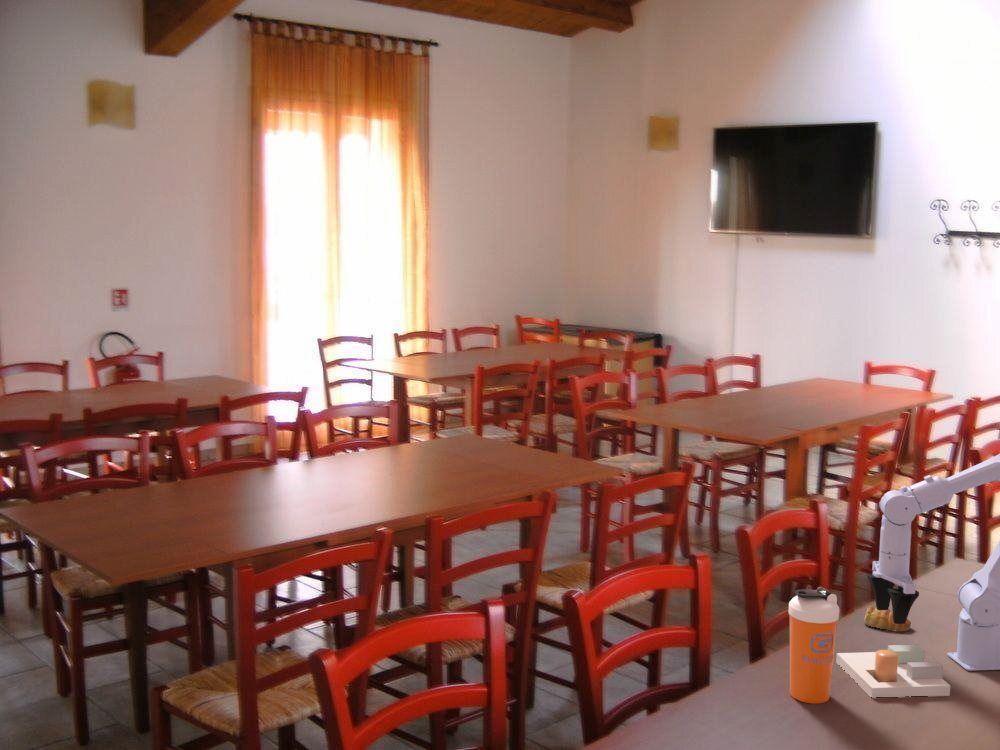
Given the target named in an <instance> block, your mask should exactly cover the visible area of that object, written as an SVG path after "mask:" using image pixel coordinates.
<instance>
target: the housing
mask: <svg viewBox="0 0 1000 750" xmlns="http://www.w3.org/2000/svg"><path fill="white" fill-rule="evenodd" d="M875 656H876V651H872V652H871V651H867V652H865V651H864V652H861V651H859V652H836V660H835V661H836V662H835V663H836V664H837V666H839V665H840V666H839V667H840V668H841V667H842V668H841V670H843V671H844V670H845V671H844V672H845V674H846V675H848V674H849V675H850V676H849V675H848V676H849V677H850V678H851V679H852V678H853V679H854V680H855V681H854V680H853V679H852V680H853V681H854V682H855V683H856V684H857V683H858V684H857V685H858V686H859V687H860V689H862V690H863V691H864V693H866V694H867V695H868V696H869V698H871V697H872V698H871V699H877V698H876V697H898V698H906V697H905V696H909V697H908V698H912V697H911V696H928V697H949V696H950V695H951V685H950V684H949V683H948V682H947V681H946V680H944V679H943V669H944V665H942V664H941V663H940V662H939V661H924V662H908V663H903V664H898V668H897V682H880V683H878V682H877V681H876V680H875V679H874V673H875Z"/></svg>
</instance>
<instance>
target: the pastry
mask: <svg viewBox="0 0 1000 750" xmlns="http://www.w3.org/2000/svg"><path fill="white" fill-rule="evenodd" d="M863 623H864V624H865V625H866V626H867V627H869V626H871V627H870V628H872V627H873V628H876V629H878V628H880V629H879V630H881V629H888V630H896V631H895V632H897V631H900V632H907V631H909V630H910V629H911V624H912V621H910V620H909V619H908V618H907V620H906V622H905V624H895V623H894V621H893V611H892V610H890V609H889V608H888V610H877V607H875V606H872V605H869V606H868V607H867V609H866V611H865V616H864V619H863ZM888 630H887V631H888Z"/></svg>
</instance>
